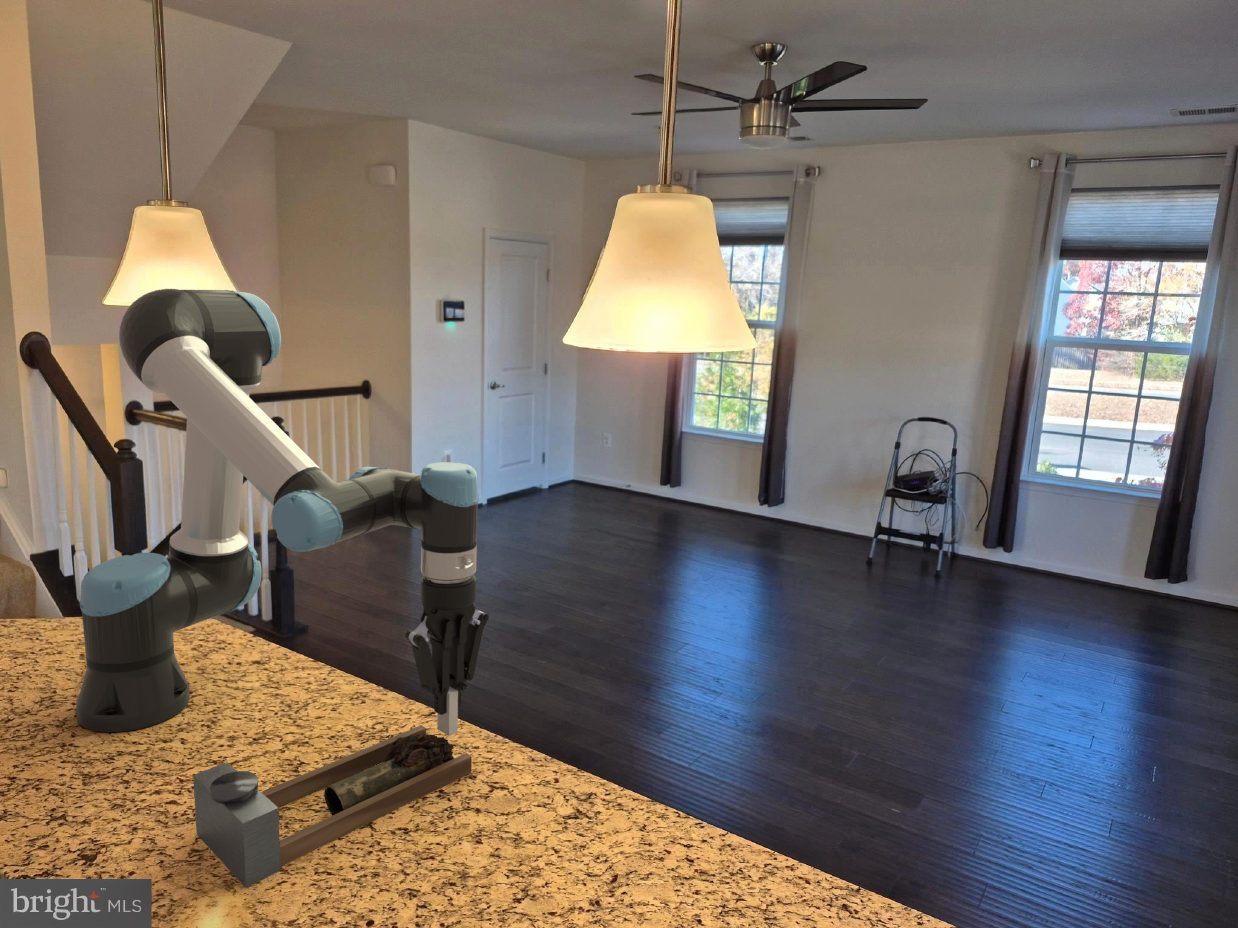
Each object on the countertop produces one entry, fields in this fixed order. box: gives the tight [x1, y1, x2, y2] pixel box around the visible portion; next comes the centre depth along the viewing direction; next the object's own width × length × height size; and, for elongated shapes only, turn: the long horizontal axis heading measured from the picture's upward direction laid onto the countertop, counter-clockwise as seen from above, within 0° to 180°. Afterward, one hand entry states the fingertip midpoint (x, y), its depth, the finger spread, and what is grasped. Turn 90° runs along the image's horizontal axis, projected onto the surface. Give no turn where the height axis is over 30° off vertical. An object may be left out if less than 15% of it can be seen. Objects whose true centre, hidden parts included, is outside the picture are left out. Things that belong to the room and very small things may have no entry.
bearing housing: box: [192, 761, 282, 889], centre depth 97 cm, size 13×5×9 cm, turn 49°
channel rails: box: [260, 724, 473, 867], centre depth 109 cm, size 12×28×2 cm, turn 139°
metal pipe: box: [323, 734, 455, 816], centre depth 111 cm, size 18×7×6 cm, turn 137°
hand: (447, 730), depth 120 cm, fingers closed
